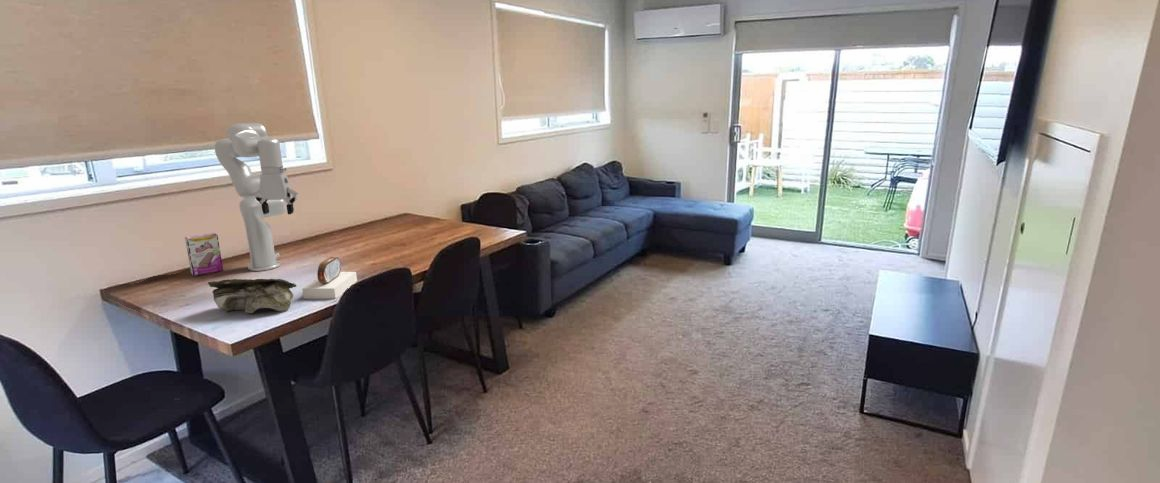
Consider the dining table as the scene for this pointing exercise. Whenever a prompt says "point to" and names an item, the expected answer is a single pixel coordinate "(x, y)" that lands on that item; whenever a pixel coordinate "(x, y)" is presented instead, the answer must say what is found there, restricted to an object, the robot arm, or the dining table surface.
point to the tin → (329, 270)
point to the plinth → (329, 287)
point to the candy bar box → (204, 254)
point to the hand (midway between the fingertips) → (278, 213)
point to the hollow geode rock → (252, 294)
